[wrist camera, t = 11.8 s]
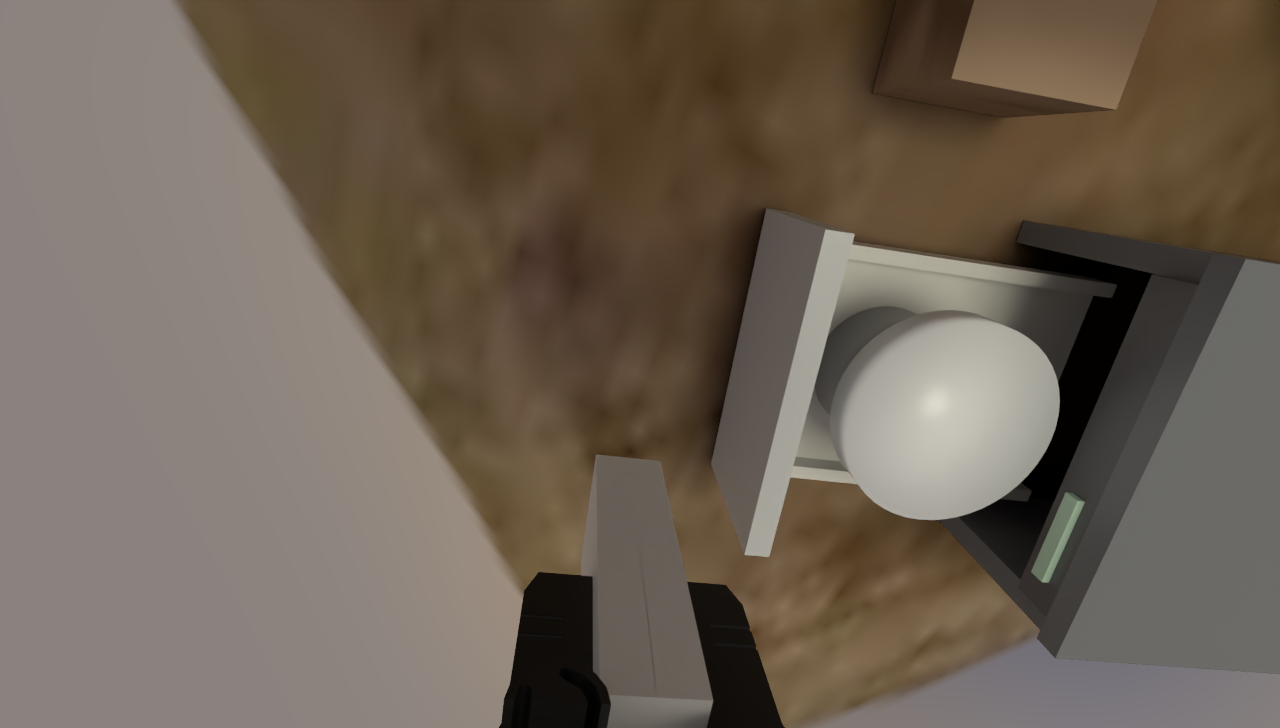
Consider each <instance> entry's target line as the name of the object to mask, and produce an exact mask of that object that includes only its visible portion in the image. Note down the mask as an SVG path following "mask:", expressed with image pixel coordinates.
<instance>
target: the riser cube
mask: <svg viewBox="0 0 1280 728" xmlns="http://www.w3.org/2000/svg"><path fill="white" fill-rule="evenodd" d="M1157 1H1158V0H896V3H895V6H894V10H893V14H892V18H891V22H890V26H889V30H888V34H887V38H886V42H885V46H884V50H883V53H882V57H881V61H880V65H879V69H878V73H877V77H876V81H875V85H874V89H873V93H872V94H878V95H883V96H888V97H894V98H899V99H905V100H910V101H916V102H921V103H926V104H932V105H937V106H943V107H948V108H954V109H959V110H965V111H970V112H975V113H981V114H986V115H992V116H997V117H1003V118H1007V117H1021V116H1035V115H1050V114H1064V113H1078V112H1093V111H1107V110H1116V109H1117V106H1118V104H1119V101H1120V99H1121V96H1122V93H1123V91H1124V88H1125V85H1126V83H1127V80H1128V77H1129V75H1130V72H1131V69H1132V67H1133V64H1134V62H1135V59H1136V56H1137V54H1138V51H1139V48H1140V46H1141V43H1142V40H1143V38H1144V35H1145V32H1146V30H1147V27H1148V25H1149V22H1150V19H1151V17H1152V14H1153V11H1154V9H1155V6H1156V3H1157Z"/></svg>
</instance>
